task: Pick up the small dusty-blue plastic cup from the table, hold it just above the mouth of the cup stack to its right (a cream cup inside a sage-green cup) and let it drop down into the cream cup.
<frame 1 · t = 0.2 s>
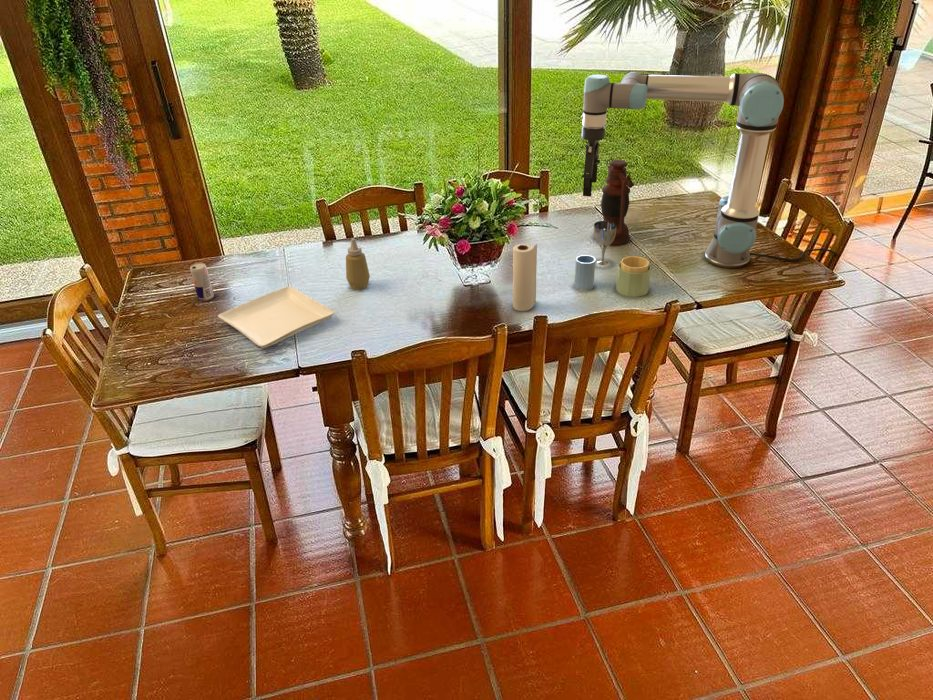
hand: (589, 188, 241), 28 cm above the table, tool pointing down, fingers open, 13 cm apart
energy drink: (206, 298, 244), on the table
wine glass: (602, 264, 256), on the table
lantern: (611, 238, 274), on the table
middle cup: (632, 288, 238), point 1 cm above the table, touching stack base cup
stack base cup: (632, 290, 238), on the table
squeeze bottle: (359, 287, 247), on the table
square plate: (278, 323, 228), on the table
top cup: (583, 287, 241), on the table
paper towel roll: (524, 307, 231), on the table
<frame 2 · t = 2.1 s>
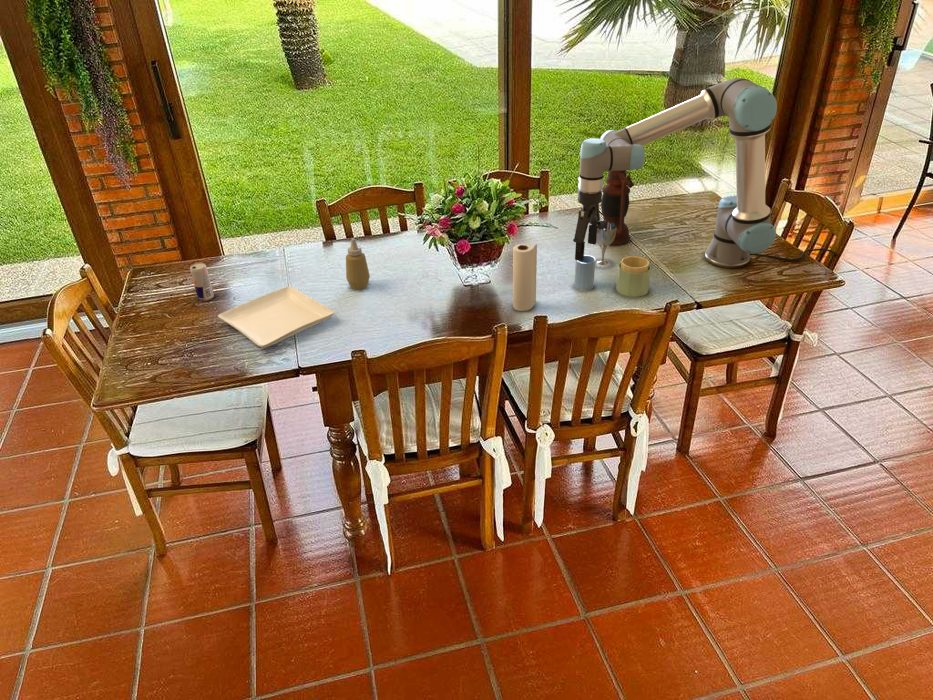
hand: (585, 251, 234), 13 cm above the table, tool pointing down, fingers open, 13 cm apart
nothing on the table moved.
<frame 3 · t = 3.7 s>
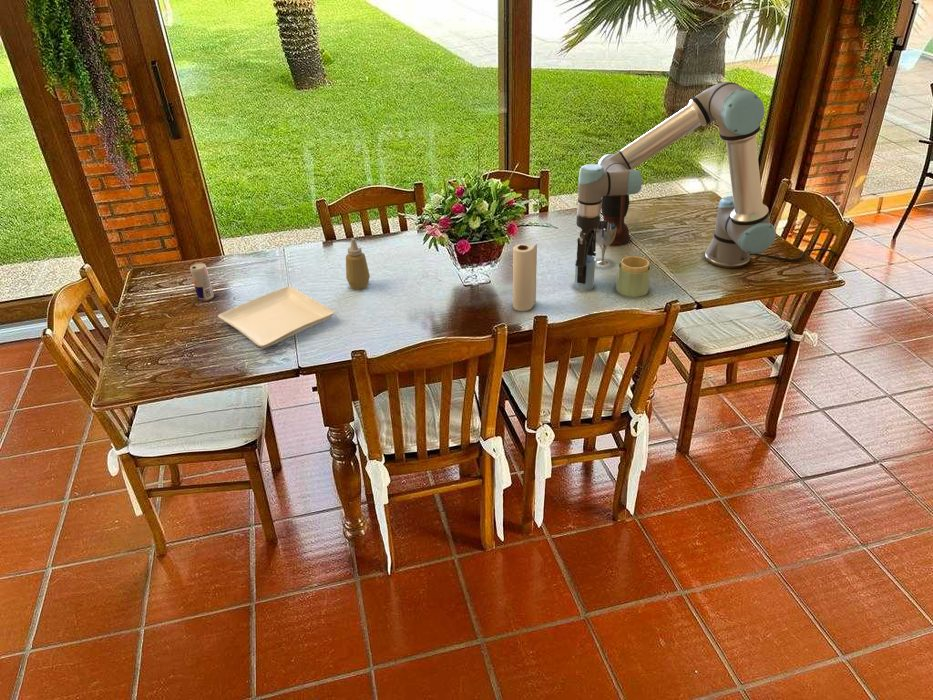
hand: (584, 278, 239), 3 cm above the table, tool pointing down, fingers closed on top cup, 6 cm apart
top cup: (584, 287, 241), on the table, touching gripper
everything else where it was.
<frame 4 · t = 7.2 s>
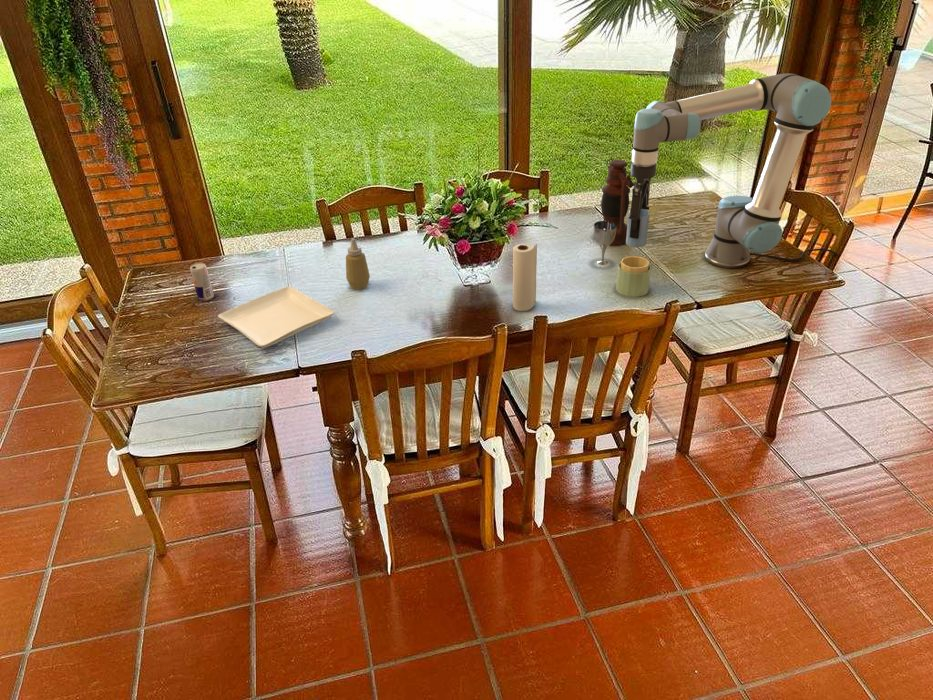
hand: (637, 233, 227), 21 cm above the table, tool pointing down, fingers closed on top cup, 6 cm apart
top cup: (636, 243, 229), point 17 cm above the table, touching gripper
everything else where it was.
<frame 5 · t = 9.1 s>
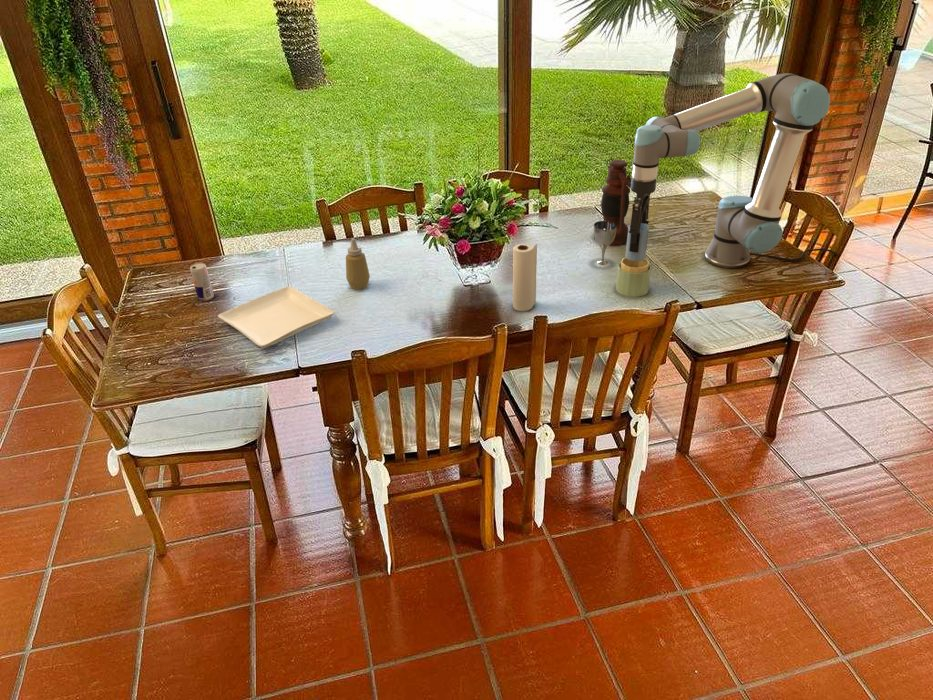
hand: (636, 247, 229), 16 cm above the table, tool pointing down, fingers closed on top cup, 6 cm apart
top cup: (635, 256, 231), point 13 cm above the table, touching gripper
everything else where it was.
when the fingers open (12 cm above the table, at t = 10.8 s): top cup drops 7 cm, resting on middle cup.
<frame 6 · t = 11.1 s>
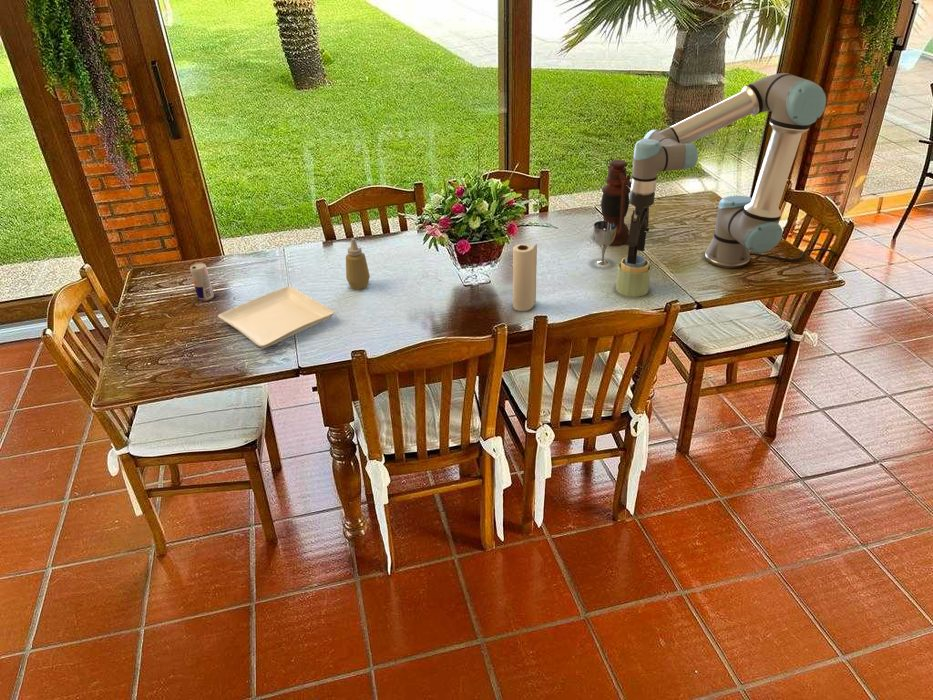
hand: (635, 256, 231), 13 cm above the table, tool pointing down, fingers open, 10 cm apart
middle cup: (632, 288, 238), point 1 cm above the table, touching stack base cup, top cup
top cup: (632, 287, 237), point 1 cm above the table, touching middle cup
everything else where it was.
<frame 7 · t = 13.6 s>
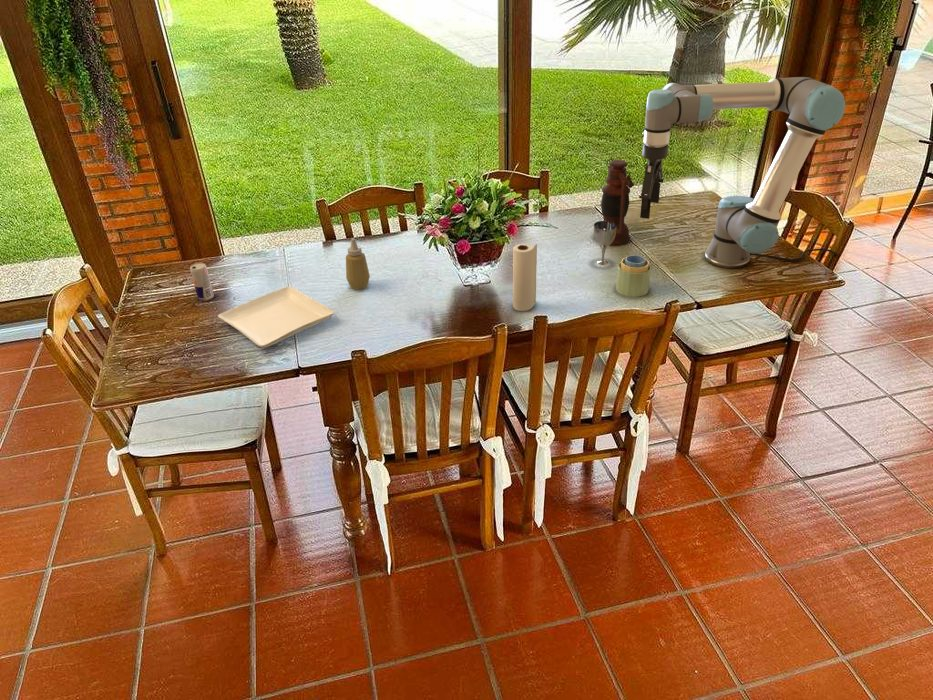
hand: (649, 210, 227), 27 cm above the table, tool pointing down, fingers open, 13 cm apart
nothing on the table moved.
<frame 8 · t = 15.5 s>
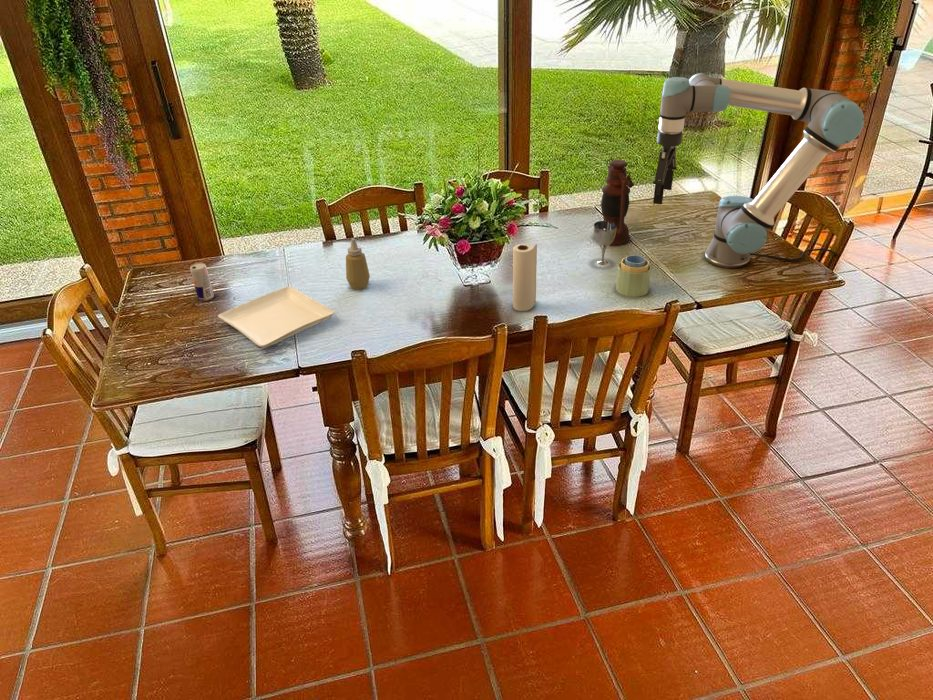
hand: (662, 196, 231), 29 cm above the table, tool pointing down, fingers open, 13 cm apart
nothing on the table moved.
at the end: top cup 0.0 cm off-centre on the middle cup, point 0.5 cm above the middle cup's base; top cup tilted 0°; the gripper is holding nothing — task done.
